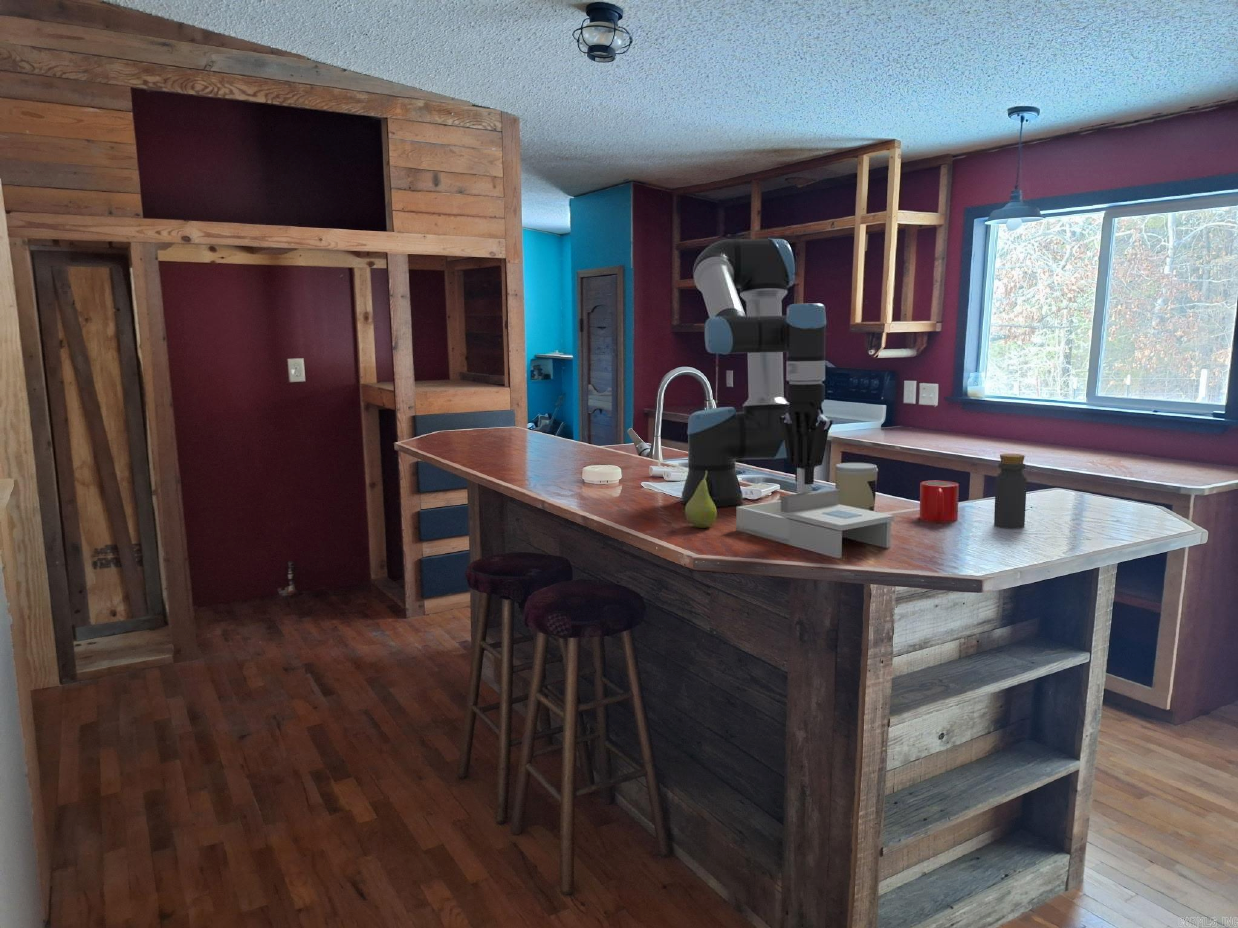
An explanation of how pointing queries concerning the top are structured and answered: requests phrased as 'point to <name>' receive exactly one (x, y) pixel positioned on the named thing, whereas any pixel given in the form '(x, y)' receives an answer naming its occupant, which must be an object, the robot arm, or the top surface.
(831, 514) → the lid
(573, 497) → the top surface
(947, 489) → the mug
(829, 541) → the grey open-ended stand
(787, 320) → the robot arm
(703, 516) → the fruit
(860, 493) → the coffee cup
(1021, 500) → the bottle
